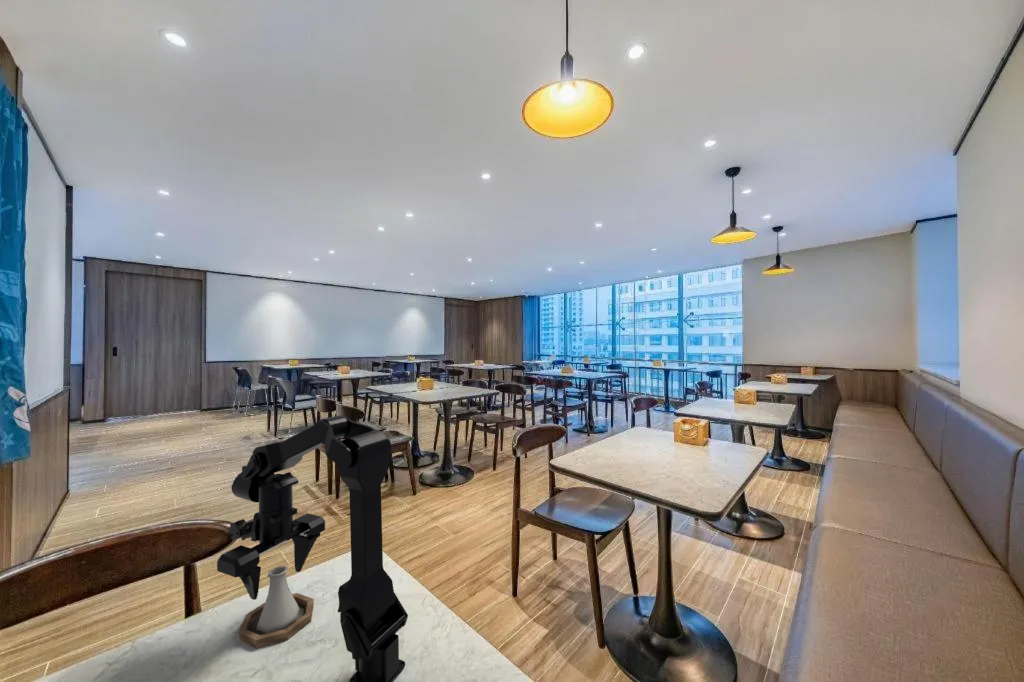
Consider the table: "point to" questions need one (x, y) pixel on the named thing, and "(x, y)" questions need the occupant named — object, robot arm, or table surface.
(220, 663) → the table surface
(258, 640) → the brown octagonal tray
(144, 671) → the table surface
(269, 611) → the flask
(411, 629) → the table surface
